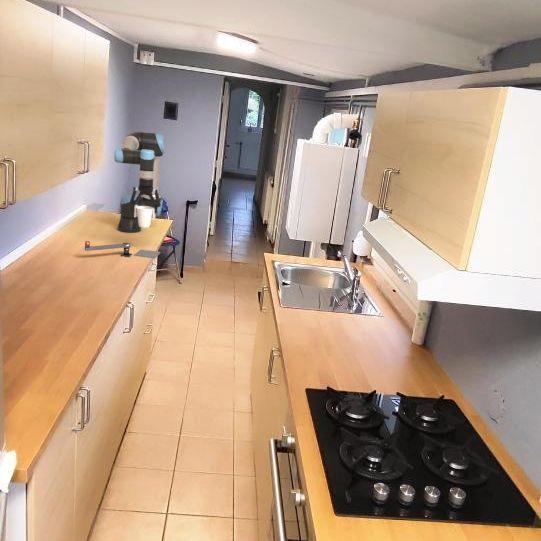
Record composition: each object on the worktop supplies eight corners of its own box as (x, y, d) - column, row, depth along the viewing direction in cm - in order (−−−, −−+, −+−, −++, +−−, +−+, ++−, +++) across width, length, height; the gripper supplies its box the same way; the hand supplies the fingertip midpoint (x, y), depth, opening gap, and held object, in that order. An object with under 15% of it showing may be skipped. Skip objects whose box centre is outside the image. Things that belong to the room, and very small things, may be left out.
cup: (150, 229, 305) (151, 210, 302) (133, 227, 305) (133, 208, 302) (155, 226, 315) (156, 207, 312) (138, 224, 315) (138, 205, 312)
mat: (140, 250, 321) (140, 249, 321) (160, 252, 320) (160, 251, 320) (134, 255, 309) (134, 254, 309) (154, 258, 309) (155, 257, 309)
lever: (83, 249, 293) (83, 240, 292) (128, 245, 309) (128, 237, 308) (86, 251, 290) (86, 242, 288) (131, 247, 306) (132, 239, 305)
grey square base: (123, 253, 310) (123, 245, 309) (132, 254, 310) (132, 246, 309) (120, 256, 306) (120, 247, 304) (129, 257, 305) (129, 249, 304)
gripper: (124, 176, 299) (123, 216, 306) (164, 181, 298) (162, 221, 304) (128, 175, 307) (127, 214, 313) (168, 179, 305) (166, 218, 312)
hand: (144, 217), depth 309 cm, fingers closed on cup, 10 cm apart
